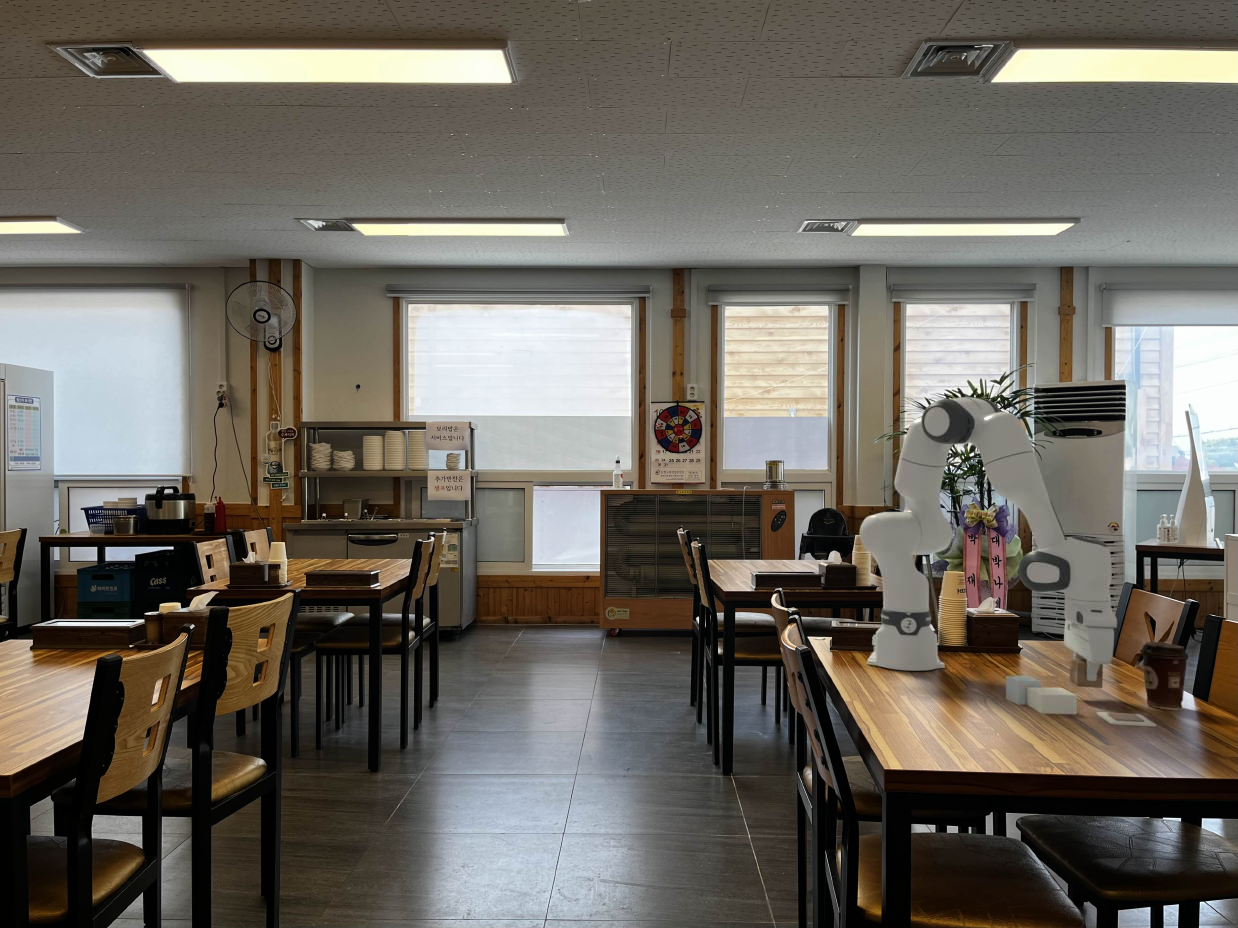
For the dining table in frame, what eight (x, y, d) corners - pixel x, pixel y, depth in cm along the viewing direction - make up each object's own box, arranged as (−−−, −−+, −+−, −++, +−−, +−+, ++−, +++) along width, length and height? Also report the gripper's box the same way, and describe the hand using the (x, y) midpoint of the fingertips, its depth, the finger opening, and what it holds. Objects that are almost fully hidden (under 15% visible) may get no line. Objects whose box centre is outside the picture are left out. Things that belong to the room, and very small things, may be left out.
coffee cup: (1144, 709, 187) (1143, 645, 187) (1136, 700, 195) (1136, 639, 195) (1193, 713, 184) (1192, 648, 184) (1183, 704, 192) (1182, 642, 192)
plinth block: (1027, 706, 190) (1027, 686, 190) (1061, 706, 189) (1061, 687, 190) (1041, 714, 183) (1041, 694, 183) (1076, 715, 182) (1076, 695, 183)
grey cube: (1006, 699, 195) (1006, 675, 195) (1028, 699, 195) (1028, 675, 196) (1018, 704, 190) (1018, 680, 190) (1041, 704, 191) (1040, 680, 191)
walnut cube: (1069, 680, 198) (1070, 657, 198) (1094, 682, 197) (1094, 659, 197) (1077, 686, 193) (1077, 662, 193) (1102, 687, 192) (1102, 664, 192)
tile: (1096, 713, 183) (1096, 710, 183) (1140, 716, 181) (1140, 712, 181) (1110, 723, 175) (1110, 720, 175) (1155, 726, 173) (1155, 722, 173)
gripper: (1057, 604, 206) (1055, 665, 206) (1087, 619, 186) (1085, 686, 186) (1087, 605, 205) (1085, 667, 205) (1120, 620, 185) (1118, 688, 185)
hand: (1085, 676), depth 195 cm, fingers closed on walnut cube, 5 cm apart
